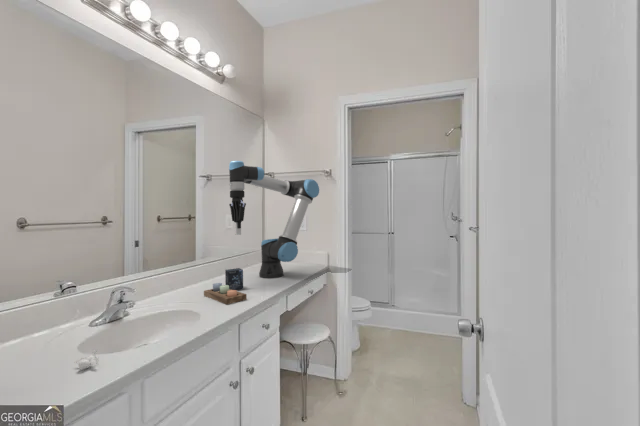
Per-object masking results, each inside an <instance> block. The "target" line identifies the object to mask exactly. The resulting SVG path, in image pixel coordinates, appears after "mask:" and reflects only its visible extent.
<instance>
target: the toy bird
mask: <svg viewBox="0 0 640 426" xmlns="http://www.w3.org/2000/svg"><path fill="white" fill-rule="evenodd" d="M99 350H100V349H92V352H91V354H90V356H85V357H81V358H78V359H77V360H76V361H74V362H73V363H75V364H78V367H79V369H80V370H86V369H88V368H90V366H99V362H100V361H99V356H98V357H96V354H97V353H98V352H99ZM85 368H86V369H85Z"/></svg>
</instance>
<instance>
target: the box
mask: <svg viewBox="0 0 640 426" xmlns="http://www.w3.org/2000/svg"><path fill="white" fill-rule="evenodd" d="M224 270H225V273H224V274H225V278H224V280H225V281H224V282H225V284H224V285H229V289H231V290H237V291H241V290H244V270H243V268H241V267H238V268H237V267H236V268H230V269H224Z"/></svg>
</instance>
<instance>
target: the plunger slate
mask: <svg viewBox="0 0 640 426" xmlns="http://www.w3.org/2000/svg"><path fill="white" fill-rule="evenodd" d="M222 285H223V283H221V282H216V283H212V289H213V291H214V292H217V291H220V286H222Z"/></svg>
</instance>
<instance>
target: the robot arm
mask: <svg viewBox="0 0 640 426" xmlns="http://www.w3.org/2000/svg"><path fill="white" fill-rule="evenodd" d="M228 164H229V166H228V167H229V168H228V170H229V184H228V185H229V190H230V191H229V198H230V199H231V203H229V208H230V215H231V219H232V220H231V221H232V222H234V235H236V236H239V235H240V236H241V235H242V222H244V219H245V210H246V205H247V203H246V202H244V199H243V198H245V191H244V190H245V184H247V185H251V186H255V187H260V188H263V189H266V190H270V191H275V192H279V193H280V194H282V195H283V196H287V197H290V198H294V199H295V201H294V203H293V205H292V208H291V212H290V214H289V215H288V216H289V217H288V218H287V219H288V220H287V221H286V225H285V227H284V230H283V233H282V234H281V235H279V236H278V238H267V239H262V241H261V245H260V246H261V265H260V269H259V272H258V275H259V276H258V277H260V278H263V279H274V278H281V277H284V270H283V267H282V263H281V262H283V263H289V262H292V261H294V260H295V259H296V258H297V256H298V253H299V248H298V240H297V239H298V238H297V237H298V235H299V231H300V229H301V227H302V223H303V221H304V218H305V215H306V212H307V209H308V207H309V205H310V204H312V202H313V200H314V199H315V198H316V197H318V196H319V195H320V186H319V183H318V182H317V180H315V179H312V178H311V179H310V178H306V179H302V180H287V179H286V180H281V179H278V178H274V177H272V176H268V175H265V170H264V168H263V167H262V166H261V167H260V166H250V165H245V162H244V161H243V160H231V161H230V162H229V163H228Z"/></svg>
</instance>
